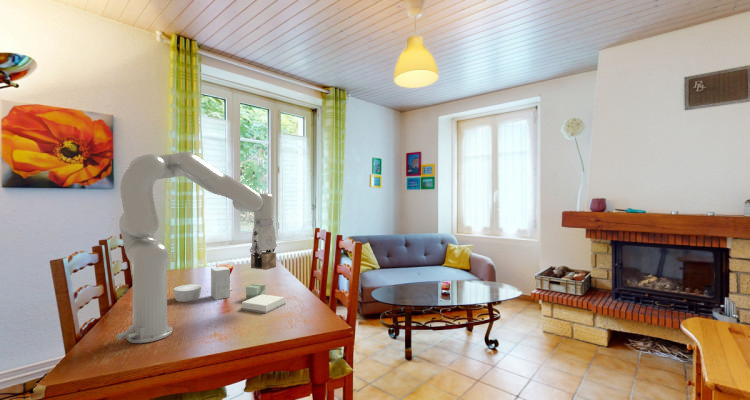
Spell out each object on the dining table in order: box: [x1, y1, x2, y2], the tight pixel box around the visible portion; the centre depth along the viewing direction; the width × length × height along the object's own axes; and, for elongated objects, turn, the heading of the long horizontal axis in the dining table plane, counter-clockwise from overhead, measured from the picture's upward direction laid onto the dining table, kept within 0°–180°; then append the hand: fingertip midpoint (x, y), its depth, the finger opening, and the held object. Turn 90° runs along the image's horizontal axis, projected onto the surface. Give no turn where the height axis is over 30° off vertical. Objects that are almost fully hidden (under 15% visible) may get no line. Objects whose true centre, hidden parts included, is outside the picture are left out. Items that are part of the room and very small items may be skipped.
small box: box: [210, 266, 231, 301], centre depth 157 cm, size 8×6×13 cm
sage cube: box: [245, 282, 267, 301], centre depth 155 cm, size 6×6×6 cm
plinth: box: [240, 294, 287, 314], centre depth 143 cm, size 13×13×3 cm
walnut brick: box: [250, 251, 277, 271], centre depth 143 cm, size 6×8×6 cm
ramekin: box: [173, 283, 202, 303], centre depth 154 cm, size 11×11×5 cm
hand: (263, 265), depth 143 cm, fingers closed on walnut brick, 6 cm apart
